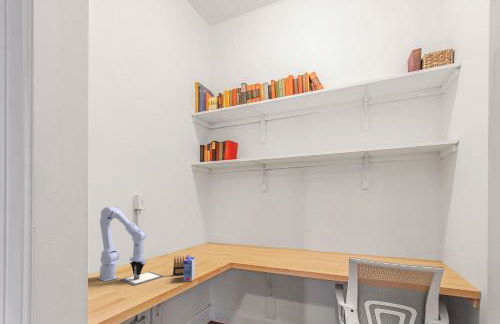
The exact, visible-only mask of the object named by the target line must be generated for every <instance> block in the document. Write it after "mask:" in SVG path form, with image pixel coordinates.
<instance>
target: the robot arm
mask: <svg viewBox="0 0 500 324" xmlns="http://www.w3.org/2000/svg"><path fill="white" fill-rule="evenodd" d="M114 219H117V220H118V221H119V222H120V223H121V224H122V225H124V227H125V230H126V231H127V233H128V234H129V235H130V236H131V239H132V241H133V250H132V251H133V252H132V256H131V257H129V261H131V262H129V263H130V267H131V269H132V274H133V275H134V268H135V266H136V274H137V275H140V274H142V270H143V269H144V268H143V267H144V266H145V265H146V262H147V260H146V259H144V243H145V239H146V238H147V233H146V232H145V231H144V230H141V229H140V228H139V227H138V226H137V224H136V223H135V222H130V220H129V219H128V218H127V216H126V215H125V214H124V213H123V211H122V209H120V208H119V206H109V207H108V206H105V207H104V208H103V209H102V210H101V211H100V218H99V225H100V226H99V227H100V231H101V238H102V239H101V240H102V244H103V251H102V252H101V253H100V254H101V257H100V263H101V266H100V267H99V277H97V279H98V280H101V281H103V282H109V281H112V280H116V279H118V278H119V277H118V276H116V272H117V271H116V270H117V262H118V260H119V259H120V254H119V252H118V250H117V248H116V247H115V246H114V239H113V232H112V227H111V222H112V221H113V220H114Z"/></svg>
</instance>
